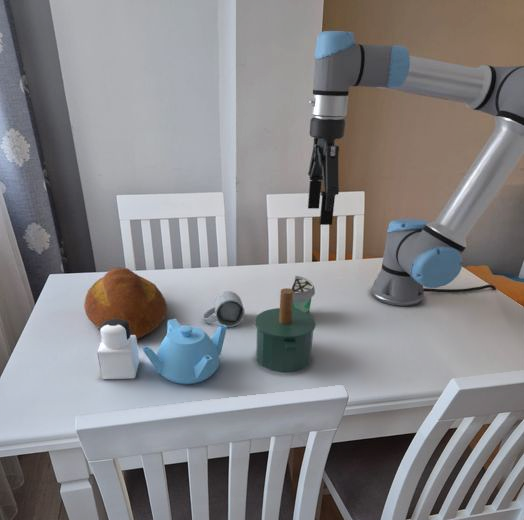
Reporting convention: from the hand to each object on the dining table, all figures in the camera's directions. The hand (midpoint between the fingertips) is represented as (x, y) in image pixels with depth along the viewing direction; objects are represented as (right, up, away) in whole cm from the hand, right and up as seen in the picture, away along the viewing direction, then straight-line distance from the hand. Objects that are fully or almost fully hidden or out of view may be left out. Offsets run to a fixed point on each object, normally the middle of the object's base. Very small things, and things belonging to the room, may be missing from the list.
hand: (319, 216), depth 113 cm
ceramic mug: (-24, -24, +14) cm, 37 cm away
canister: (-9, -34, -1) cm, 35 cm away
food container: (-3, -24, +17) cm, 29 cm away
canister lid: (-9, -26, -6) cm, 28 cm away
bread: (-50, -23, +15) cm, 57 cm away
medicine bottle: (-45, -37, -7) cm, 59 cm away
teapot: (-30, -37, -6) cm, 48 cm away
